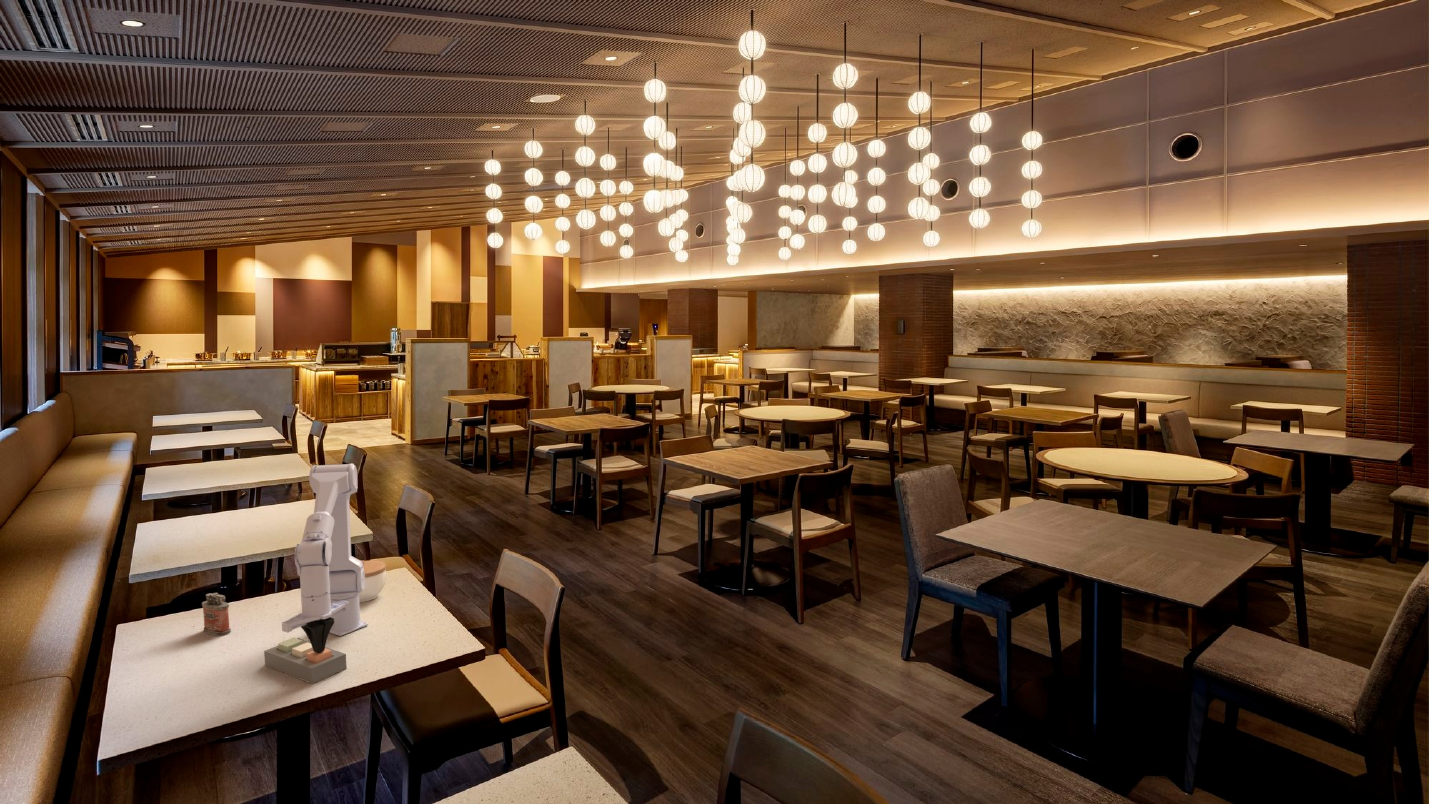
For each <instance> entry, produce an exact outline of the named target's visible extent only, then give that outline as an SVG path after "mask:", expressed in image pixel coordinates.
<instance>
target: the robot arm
mask: <svg viewBox="0 0 1429 804" xmlns="http://www.w3.org/2000/svg"><path fill="white" fill-rule="evenodd" d="M308 477H309V487H310V488H311V489H312V492H313V493H315V500H314V509H313V513H312V514H310V515H308V517H307V518H306V521H305V522H306V523H305V526H304V531H303V534H302V538H301V542H300V543H297V544H296V545H295V549H294V564H295V566H296V572H297V574H296V575H297V576H298V577H299V582H300V586H299V587H300V597H301V598H300V599H301V613H298V614H297V615H295V616H293V617H291V618H289V619H287V620H285V621H282V622H281V626H282V627H281V630H282V632H284V633H287V634H288V633H291V632H292V631H293V630H295V629H298V628H301V629H302V630H303V633H305V634H306V636H307V637H308V641H309V642H311V645H312V648H313V651H314V652H317V653H320V652H323V651H324V650H325V647H326V645H327V640H328V637H329V634H332V635H337V636H339V637H343V636H344V635H345V636H346V634H349V633H352V632H354V631H357V630H359V629H361V628H364V627H367V626H368V625H369V623H368V622H366V621H362V620H361V609H360V606H361V605H360V602H359V593H361V592H362V591H363V590H364V587H365V572H364V566H363V562H361V559H358V558H357V557H354V556H352V543H351V542H352V541H351V540H352V539H351V516H350V515H351V514H350V513H351V512H350V511H351V510H350V509H351V508H350V498H351V495H353V494H355V493H358V482H359V481H358V470H357V466H356V465H355V464H354V463H346V464H326V465H325V464H323V465H322V464H321V465H316V464H314V465H313V466H312V467H311V468H310V470H309V476H308Z"/></svg>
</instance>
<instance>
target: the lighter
mask: <svg viewBox="0 0 1429 804" xmlns="http://www.w3.org/2000/svg"><path fill="white" fill-rule="evenodd" d="M205 598H206V600H205V601H202V602H201V606H202V609H203V611H202V612H203V625H204V627H203V632H204V633H207V634H210V635H213V636H220V637H222V636H226V635H229V634H231V628H230V617H229V608H230V604H229V603H228V602H226V596H225V595H223V594H219V593H218V592H213V593H207V594H205Z"/></svg>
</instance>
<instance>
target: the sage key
mask: <svg viewBox="0 0 1429 804" xmlns="http://www.w3.org/2000/svg"><path fill="white" fill-rule="evenodd" d="M302 644H303V641H302V640H299V639H297V638H295V637H291V638H288V639H287V640H284V641H281V642H278V643H277V646H278V650H279V651H282V652H285V653H289V652H291V651H292V648H294V647H297V646H299V645H302Z"/></svg>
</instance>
